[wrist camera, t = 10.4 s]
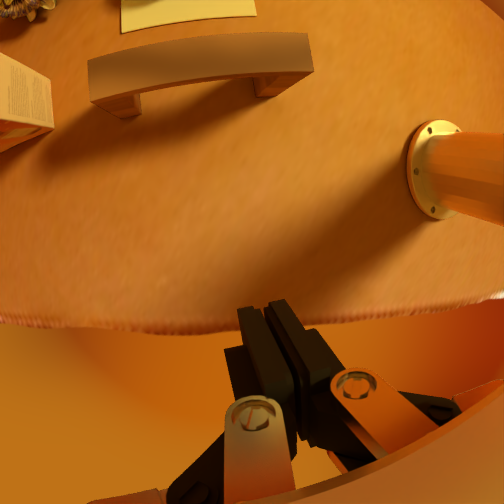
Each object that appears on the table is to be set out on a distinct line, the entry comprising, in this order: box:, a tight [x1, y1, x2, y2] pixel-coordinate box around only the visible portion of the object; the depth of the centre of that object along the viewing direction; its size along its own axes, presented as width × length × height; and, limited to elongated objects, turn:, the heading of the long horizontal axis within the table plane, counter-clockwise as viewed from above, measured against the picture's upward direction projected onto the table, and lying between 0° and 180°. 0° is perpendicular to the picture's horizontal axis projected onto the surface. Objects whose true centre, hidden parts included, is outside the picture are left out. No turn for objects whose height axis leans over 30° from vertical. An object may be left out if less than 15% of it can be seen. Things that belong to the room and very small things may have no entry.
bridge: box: [88, 32, 314, 119], centre depth 20 cm, size 3×14×9 cm, turn 97°
